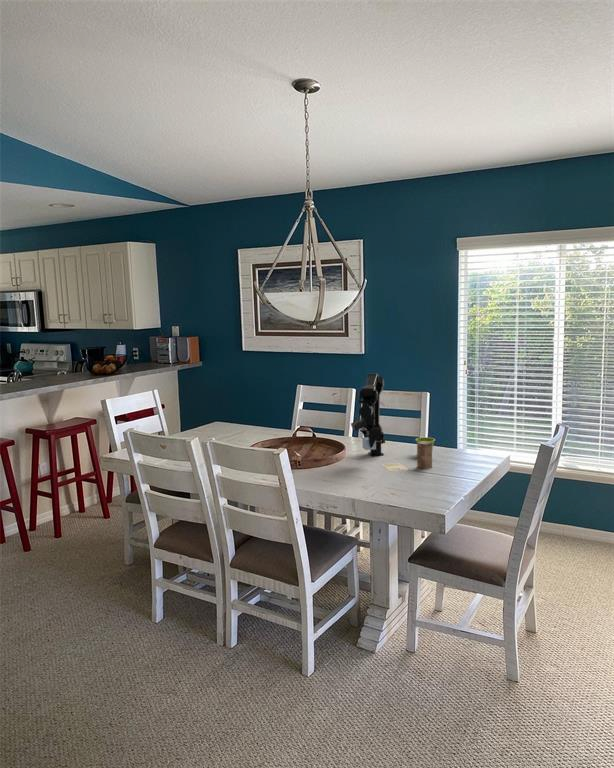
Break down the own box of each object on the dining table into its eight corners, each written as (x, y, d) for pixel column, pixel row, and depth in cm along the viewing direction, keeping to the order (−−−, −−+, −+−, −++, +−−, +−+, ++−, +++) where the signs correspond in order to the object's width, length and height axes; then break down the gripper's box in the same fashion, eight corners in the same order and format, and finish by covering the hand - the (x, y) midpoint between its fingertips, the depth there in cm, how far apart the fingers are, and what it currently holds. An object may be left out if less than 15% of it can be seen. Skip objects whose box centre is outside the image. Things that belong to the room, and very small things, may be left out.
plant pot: (426, 459, 290) (426, 442, 289) (412, 456, 297) (411, 439, 296) (438, 456, 296) (438, 439, 295) (424, 452, 303) (424, 436, 302)
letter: (381, 465, 283) (381, 464, 283) (398, 463, 285) (398, 462, 285) (390, 471, 272) (390, 471, 272) (408, 469, 274) (408, 469, 274)
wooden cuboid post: (417, 467, 277) (417, 442, 275) (424, 465, 280) (424, 441, 278) (425, 469, 273) (424, 444, 271) (432, 467, 276) (431, 442, 274)
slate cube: (362, 447, 283) (362, 437, 283) (372, 446, 284) (372, 436, 284) (366, 450, 279) (365, 439, 278) (376, 449, 280) (375, 438, 279)
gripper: (346, 411, 287) (347, 443, 289) (358, 418, 268) (359, 452, 271) (368, 410, 289) (368, 441, 291) (381, 417, 271) (382, 450, 273)
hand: (369, 446), depth 281 cm, fingers closed on slate cube, 5 cm apart
